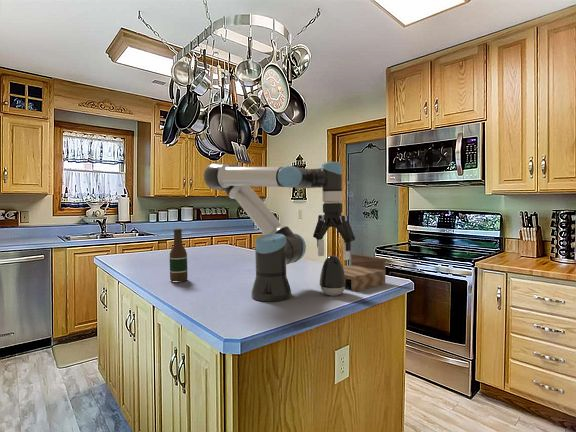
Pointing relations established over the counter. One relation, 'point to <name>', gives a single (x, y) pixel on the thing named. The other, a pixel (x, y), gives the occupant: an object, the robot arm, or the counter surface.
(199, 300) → the counter surface
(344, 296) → the counter surface
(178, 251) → the beer bottle
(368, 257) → the walnut shelf
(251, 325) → the counter surface
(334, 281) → the dark grey egg shape
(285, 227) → the robot arm
